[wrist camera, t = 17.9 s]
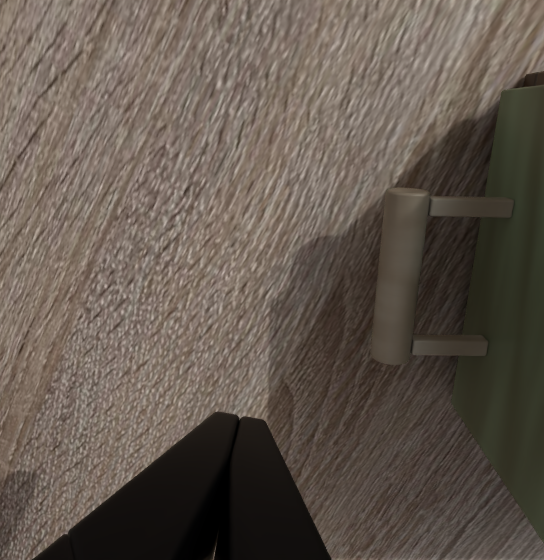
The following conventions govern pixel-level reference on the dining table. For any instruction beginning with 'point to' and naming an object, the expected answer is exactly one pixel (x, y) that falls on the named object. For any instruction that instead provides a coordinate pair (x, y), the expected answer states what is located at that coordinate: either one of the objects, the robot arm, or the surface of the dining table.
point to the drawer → (484, 299)
